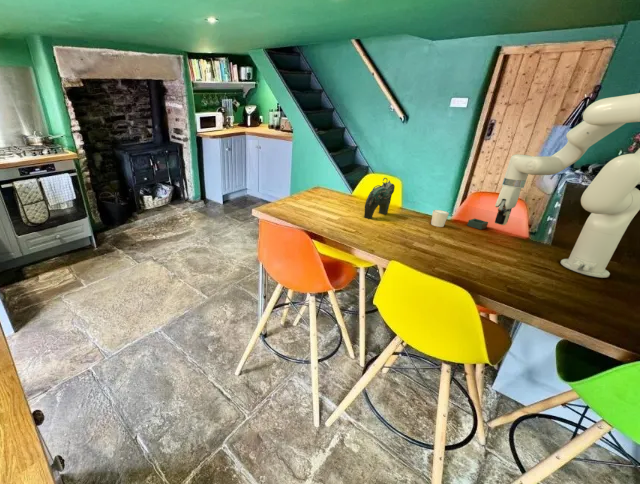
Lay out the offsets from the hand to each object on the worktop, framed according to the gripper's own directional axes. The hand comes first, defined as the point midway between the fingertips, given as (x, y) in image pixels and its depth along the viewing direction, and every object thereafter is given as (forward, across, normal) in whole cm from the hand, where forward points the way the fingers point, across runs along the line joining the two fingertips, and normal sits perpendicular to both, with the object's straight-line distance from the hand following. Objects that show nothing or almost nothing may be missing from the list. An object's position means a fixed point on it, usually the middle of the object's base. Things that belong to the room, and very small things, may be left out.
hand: (500, 222), depth 138 cm
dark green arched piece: (+6, +30, -44) cm, 53 cm away
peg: (+1, 0, 0) cm, 1 cm away
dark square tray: (+6, -5, -10) cm, 13 cm away
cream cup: (+6, +13, -21) cm, 25 cm away
